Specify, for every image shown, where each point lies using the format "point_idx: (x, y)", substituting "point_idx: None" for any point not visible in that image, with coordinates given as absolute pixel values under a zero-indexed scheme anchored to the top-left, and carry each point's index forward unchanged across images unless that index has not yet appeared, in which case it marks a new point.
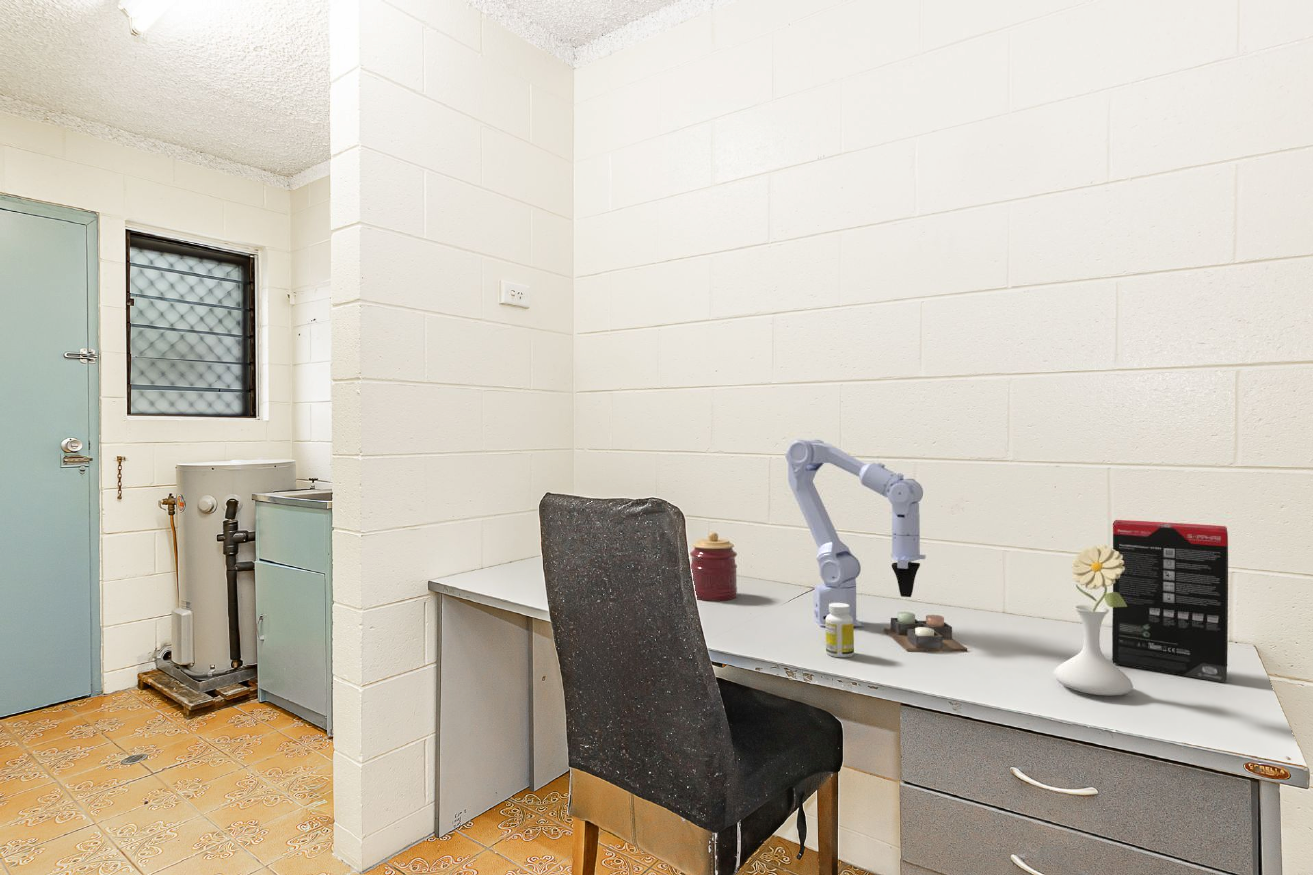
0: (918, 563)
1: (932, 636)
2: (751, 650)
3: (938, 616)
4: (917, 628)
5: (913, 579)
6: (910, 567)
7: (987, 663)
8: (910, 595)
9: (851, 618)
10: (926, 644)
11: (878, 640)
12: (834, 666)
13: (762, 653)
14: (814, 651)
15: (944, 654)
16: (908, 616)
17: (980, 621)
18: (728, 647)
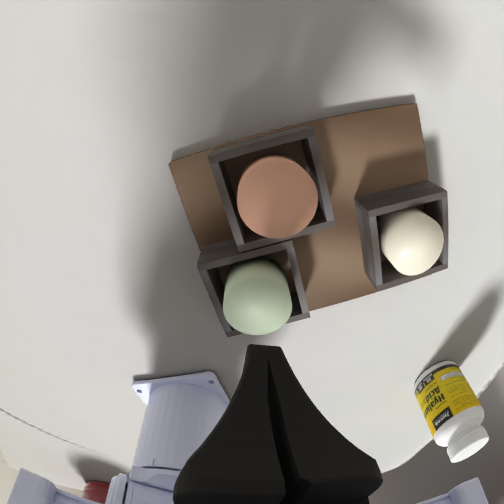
0: (215, 497)
1: (447, 222)
2: (402, 452)
3: (265, 183)
4: (408, 268)
5: (325, 418)
6: (367, 495)
7: (488, 87)
8: (283, 354)
9: (478, 414)
10: None
11: (336, 334)
12: (483, 368)
13: (416, 441)
14: (415, 406)
15: (444, 178)
16: (290, 301)
17: (9, 44)
18: (387, 467)
